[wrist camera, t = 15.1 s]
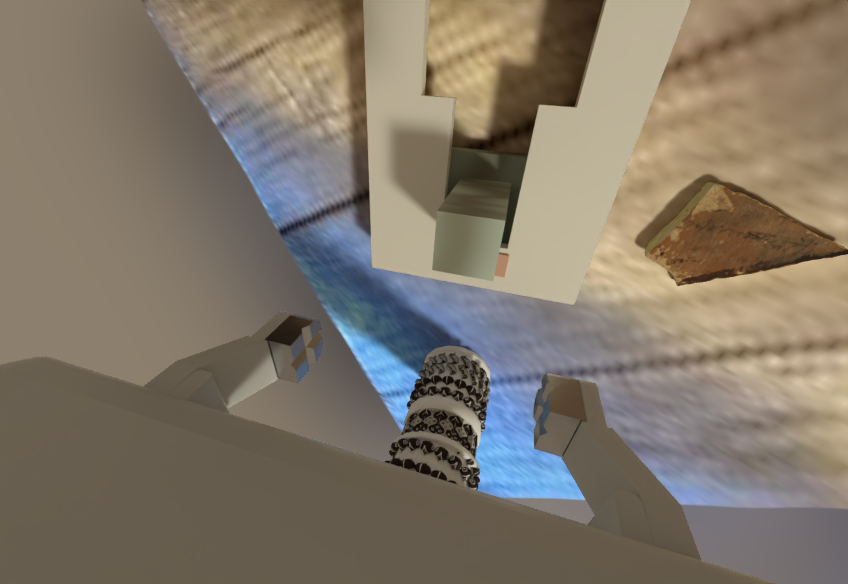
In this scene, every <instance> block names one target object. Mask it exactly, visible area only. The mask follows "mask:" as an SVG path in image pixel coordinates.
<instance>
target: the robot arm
mask: <svg viewBox="0 0 848 584" xmlns="http://www.w3.org/2000/svg"><path fill="white" fill-rule="evenodd" d="M320 330H321V324H320V321H318V320H316V319H312V318H309V317H304V316H301V315H297V314H292V313H288V312H284V311H281V312H279V313H277V314H276V315H275V316H274V317H273V318H272V319H270V320H269V321H268V322H267V323H266V324H265V325H264V326H263V327H261V328H260V329H259V330H258V331H257V332H256V333H255V334H253V335H252V336H251V337H250V336H246V337H243V338H240V339H237V340H234V341H232V342H229V343H226V344H223V345H220V346H218V347H215V348H212V349H209V350H206V351H203V352H200V353H198V354H195V355H192V356H189V357H187V358H183V359H181V360H178V361H176V362H175V363H173V364H172V365H170V366H169V367H168V368H167V369H165V370H164V371H163V372H161V373H160V374H159V375H158V376H156V377H155V378H154V379H152V380H151V381H150V382H148V383H147V384H146V385H145V386H140V385H136V384H133V383H130V382H127V381H123V380H120V379H117V378H114V377H111V376H107V375H104V374H101V373H98V372H94V371H91V370H88V369H85V368H82V367H79V366H75V365H72V364H69V363H66V362H63V361H60V360H57V359H53V358H49V357H34V358H30V359H25V360H20V361H15V362H10V363H6V364H2V365H0V584H775V583H772V582H769V581H766V580H762V579H759V578H756V577H753V576H749V575H746V574H743V573H740V572H737V571H733V570H730V569H727V568H724V567H721V566H717V565H714V564H711V563H707V562H704V561H701V558H700V555H699V552H698V550H697V547H696V544H695V542H694V539H693V536H692V533H691V531H690V528H689V525H688V522H687V520H686V517H685V514H684V512H683V509H682V506H681V505H680V504H679V503H678V501H677V500H676V499H675V498H674V497H673V496H672V495H671V494H670V493H669V491H668V490H667V489H666V488H665V487H664V486H663V485H662V484H661V482H660V481H659V480H658V479H657V478H656V477H655V476H654V475H653V474H652V472H651V471H650V470H649V469H648V468H647V467H646V466H645V465H644V463H643V462H642V461H641V460H640V459H639V458H638V457H637V456H636V455H635V453H634V452H633V451H632V450H631V449H630V448H629V447H628V446H627V444H626V443H625V442H624V441H623V440H622V439H621V438H620V437H619V436H618V434H617V433H616V432H615V431H614V430H613V429H612V428H608V427H607V425H606V421H605V417H604V412H603V408H602V404H601V400H600V396H599V392H598V388H597V385H596V384H595V383H591V382H587V381H582V380H577V379H573V378H568V377H564V376H559V375H555V374H550V373H545V374H544V376H543V378H542V388H541V389H539V390H538V392H537V395H536V398H535V403H534V419H535V421H536V422H537V423H536V426H535V428H534V449H538V450H541V451H544V452H547V453H551V454H554V455H557V456H561V457H562V459H563V461H564V463H565V464H566V466H567V468H568V470H569V471H570V473H571V475H572V477H573V478H574V480H575V482H576V483H577V485H578V487H579V489H580V490H581V492H582V494H583V496H584V497H585V499H586V501H587V503H588V504H589V506H590V508H591V509H592V511H593V513H594V515H595V516H594V517H593V518H592V520H591V521H590V522H589V523H588V525H586V524H583V523H579V522H576V521H573V520H570V519H566V518H563V517H560V516H557V515H554V514H550V513H547V512H544V511H541V510H538V509H534V508H531V507H528V506H524V505H522V504H518V503H515V502H512V501H509V500H506V499H502V498H499V497H496V496H493V495H490V494H486V493H483V492H480V491H477V490H473V489H470V488H467V487H464V486H461V485H457V484H454V483H451V482H448V481H444V480H441V479H438V478H435V477H432V476H428V475H425V474H422V473H419V472H415V471H412V470H409V469H406V468H403V467H399V466H396V465H393V464H390V463H386V462H383V461H380V460H377V459H373V458H370V457H367V456H364V455H361V454H358V453H354V452H351V451H348V450H345V449H342V448H338V447H335V446H332V445H329V444H326V443H322V442H319V441H316V440H313V439H310V438H306V437H303V436H300V435H296V434H293V433H290V432H287V431H284V430H280V429H277V428H274V427H271V426H268V425H265V424H261V423H258V422H255V421H252V420H248V419H245V418H242V417H239V416H236V415H233V414H230V413H229V411H228V408H229V407H231V406H233V405H234V404H236V403H238V402H240V401H241V400H243V399H245V398H247V397H248V396H250V395H252V394H253V393H255V392H257V391H259V390H260V389H262V388H264V387H266V386H267V385H269V384H271V383H272V382H274V381H276V380H277V379H278V378H279V379H283V380H288V381H292V382H296V383H299V382H300V381H301V380H302V379H303V377H304V376H305V375H306V373H307V372H308V371H309V364H312V363H314V362H316V361H317V359H318V358H319V357H320V355H321V352H322V350H323V343H324V342H323V337H322V336H321V335H320V333H319V331H320Z"/></svg>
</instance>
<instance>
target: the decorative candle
mask: <svg viewBox="0 0 848 584" xmlns="http://www.w3.org/2000/svg"><path fill="white" fill-rule="evenodd" d="M422 365H423V369H424V370H420V371H419V376H420V377H421V379H417V380H416V381H415V382H416V384H415V386H414V388H415V390H414V391H412V393H411V396H410V400H411V401H409V402H408V403H407V407H408V409H409V411H408V413H407V416H406V419H405V421H404V424H405V426H404V429H403V432H402V434H401V436H399V437H398V438H396V439H395V442H394V443H392V445H391V450H390V451H389V453H390V455H391V456H392V458H393V459H392V460H391V461H385V462H386V463H390V464H393V465H396V466H399V467H403V468H406V469H409V470H412V471H415V472H419V473H422V474H425V475H428V476H432V477H435V478H438V479H441V480H444V481H448V482H451V483H454V484H457V485H461V486H464V487H467V488H470V489H473V490H477V489H478V484H479V483H480V479H479V477H478V475H479V473H480V470H479V468H478V463H477V461H476V460H475V459H476V449H477V447H478V446H479V444H480V436H481V432H482V431H484V429H485V425H484V422H485V420H486V418H485V417H486V412H485V411H486V409H487V404H488V402H489V400H488V396H489V392H490V389H489V386H490V369H489V367H488V366H487V364H486V362H485V360H484V359H482V358H481V357H480V356H479V355H478V354H476V353H475V352H473V351H471V350H469V349H466V348H464V347H461V346H450V345H447V346H442V347H438V348H435V349H434V350H432V351H431V352H430V353H428V354H427V356H426V359H425V361H424V363H423V364H422Z"/></svg>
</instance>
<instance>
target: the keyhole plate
mask: <svg viewBox="0 0 848 584" xmlns="http://www.w3.org/2000/svg"><path fill="white" fill-rule="evenodd" d="M690 1H691V0H604V2H603V6H602V9H601V13H600V16H599V20H598V24H597V27H596V31H595V35H594V38H593V42H592V46H591V49H590V53H589V57H588V60H587V64H586V68H585V71H584V75H583V79H582V82H581V86H580V90H579V93H578V97H577V101H576V104H575V107H568V106H555V105H542V104H539V105H538V110H537V114H536V119H535V124H534V128H533V133H532V137H531V142H530V146H529V151H528V156H527V160H526V165H525V169H524V174H523V178H522V183H521V188H520V192H519V197H518V201H517V206H516V210H515V215H514V219H513V224H512V229H511V233H510V238H509V242H508V244H505V243H501V246H500V251H499V255H498V260H497V265H496V270H495V275H494V280H493V281H489V280H484V279H478V278H473V277H467V276H462V275H456V274H451V273H445V272H440V271H434V270H432V265H433V253H434V241H435V230H436V218H437V210H438V209H439V208H440V206H441V205H442V203H443V202H444V201H445V199H446V198H447V190H448V179H449V169H450V159H451V149H452V138H453V128H454V118H455V108H456V98H451V97H438V96H425V84H426V65H427V45H428V26H429V6H430V0H363V14H364V44H365V73H366V103H367V132H368V162H369V192H370V221H371V251H372V267H373V268H379V269H384V270H390V271H395V272H400V273H406V274H411V275H416V276H422V277H427V278H432V279H438V280H443V281H448V282H454V283H459V284H465V285H470V286H475V287H481V288H486V289H491V290H497V291H502V292H507V293H513V294H518V295H523V296H529V297H534V298H540V299H545V300H550V301H556V302H561V303H566V304H572V305H574V304H575V301H576V298H577V296H578V293H579V291H580V288H581V285H582V283H583V280H584V277H585V275H586V272H587V270H588V267H589V264H590V262H591V259H592V257H593V254H594V251H595V249H596V246H597V244H598V241H599V238H600V236H601V233H602V231H603V228H604V225H605V223H606V220H607V218H608V215H609V212H610V210H611V207H612V205H613V202H614V199H615V197H616V194H617V192H618V189H619V186H620V184H621V181H622V179H623V176H624V173H625V171H626V168H627V166H628V163H629V160H630V158H631V155H632V152H633V150H634V147H635V145H636V142H637V139H638V137H639V134H640V132H641V129H642V126H643V124H644V121H645V119H646V116H647V113H648V111H649V108H650V106H651V103H652V100H653V98H654V95H655V93H656V90H657V87H658V85H659V82H660V80H661V77H662V74H663V72H664V69H665V67H666V64H667V61H668V59H669V56H670V54H671V51H672V48H673V46H674V43H675V41H676V38H677V35H678V33H679V30H680V27H681V25H682V22H683V20H684V17H685V14H686V12H687V9H688V7H689V4H690Z"/></svg>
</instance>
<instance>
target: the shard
mask: <svg viewBox="0 0 848 584" xmlns="http://www.w3.org/2000/svg"><path fill="white" fill-rule="evenodd" d="M846 254H848V249H846V248H845V247H843V246H841V245H838V244H837V243H835V242H833V241H831V240H829V239H826V238H823V237H821V236H819V235H817V234H815V233H813V232H811V231H809V230H807V229H806V228H804V227H802V226H801V225H800V224H799V223H797V222H796V221H795V220H793V219H791V218H789V217H788V216H785V215H783V214H781V213H779V212H778V211H777V210H776V209H774V208H772V207H769V206H768V205H765V204H762V203H760V202H759V201H758V200H755V199H753V198H751V197H750V196H748V195H745V194H743V193H741V192H733V191H731V190H730V189H728V188H726V187H725V186H723V185H720V184H716V183H715V182H707V183H706V184H705V185H704V186H703V187H702V188H701V190H700V191H699V192H698V193H697V194H696V195H695V196H694V197H693V198H692V200H691V201H690V202H689V203H688V204H687V205H686V206H685V207H684V208H683V209H682V211H681V212H680V213H679V214H678V215H677V217H676V218H675V219H673V220H672V221H671V222H670V223H669V224H667V225H666V226H665V227H664V228H663V229H662V230H661V231H660V232H659V233H658V234H657V235H656V236H655V237H654V238H652V239H651V240H650V241H649V243H648V244H647V248H646V250H645V256H646V257H647V258H649V259H650V260H652V261H654V262H656V263H658V264H659V265H661V266H662V267H664V268H665V269H667V270H668V271H669V272H670V273H671V274H672V275H673V277H674V280H675V282H676V284H677V286H680V285H685V284H693V283H701V282H706V281H711V280H713V279H716V278H729V277H734V276H738V275H746V274H753V273H757V272H761V271H767V270H771V269H777V268H781V267H785V266H789V265H794V264H798V263H801V262H805V261H810V260H817V259H822V258H833V257H836V256H840V255H846Z"/></svg>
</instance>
